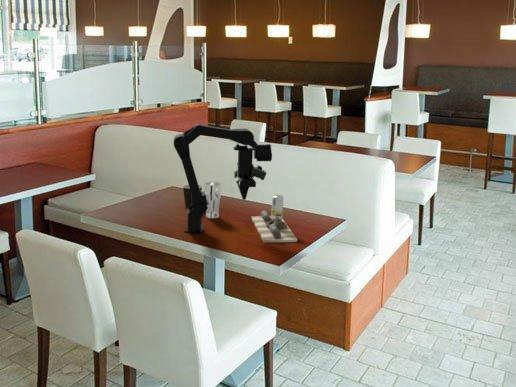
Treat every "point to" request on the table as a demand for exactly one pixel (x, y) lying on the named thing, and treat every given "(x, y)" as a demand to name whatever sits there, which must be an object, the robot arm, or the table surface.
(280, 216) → the metal cup
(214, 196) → the beer glass
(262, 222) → the shaft board
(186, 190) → the coffee mug
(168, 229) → the table surface
